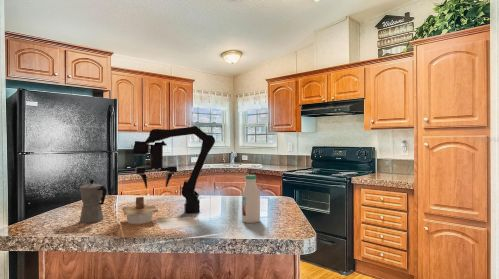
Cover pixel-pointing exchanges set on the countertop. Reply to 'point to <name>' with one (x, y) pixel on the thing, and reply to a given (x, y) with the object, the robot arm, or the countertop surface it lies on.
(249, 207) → the milk bottle
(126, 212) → the board
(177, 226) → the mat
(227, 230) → the countertop surface
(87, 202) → the coffeepot
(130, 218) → the ramekin
